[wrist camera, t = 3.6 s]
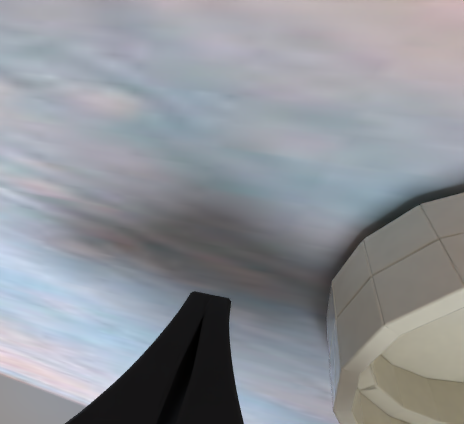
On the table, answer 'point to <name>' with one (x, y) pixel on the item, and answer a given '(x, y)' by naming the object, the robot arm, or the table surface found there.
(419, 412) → the bowl
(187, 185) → the table surface
